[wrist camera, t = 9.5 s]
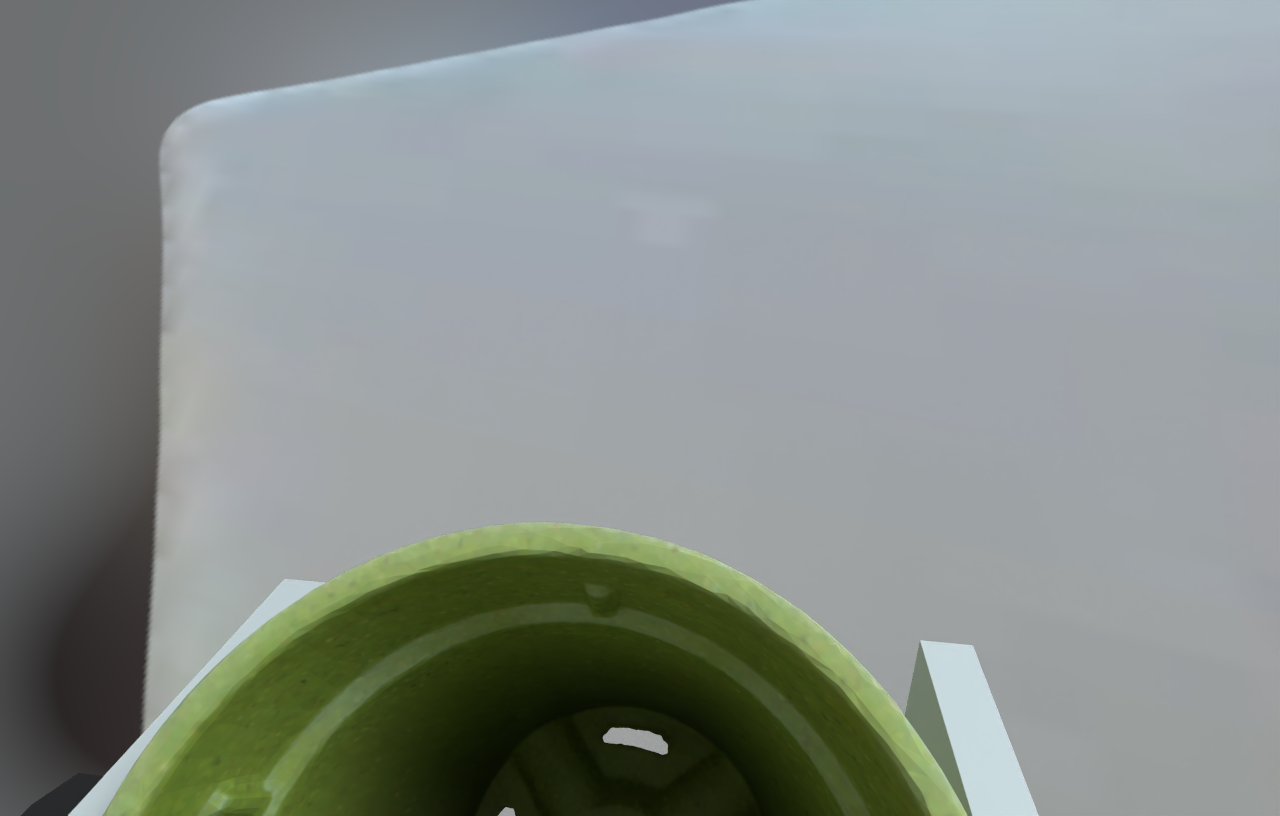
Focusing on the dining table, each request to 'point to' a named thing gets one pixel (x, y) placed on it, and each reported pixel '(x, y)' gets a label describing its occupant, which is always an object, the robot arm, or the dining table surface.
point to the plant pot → (537, 695)
